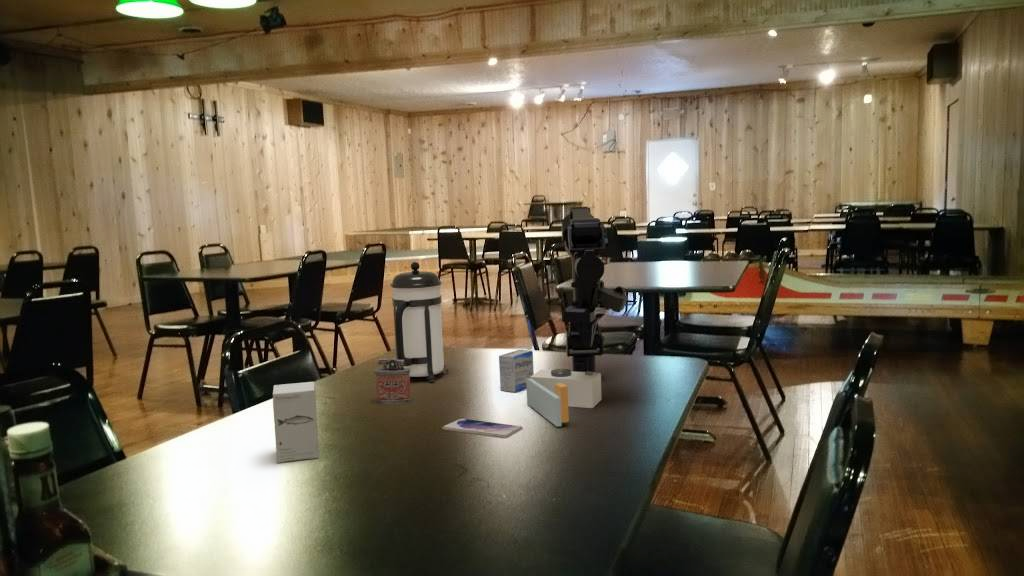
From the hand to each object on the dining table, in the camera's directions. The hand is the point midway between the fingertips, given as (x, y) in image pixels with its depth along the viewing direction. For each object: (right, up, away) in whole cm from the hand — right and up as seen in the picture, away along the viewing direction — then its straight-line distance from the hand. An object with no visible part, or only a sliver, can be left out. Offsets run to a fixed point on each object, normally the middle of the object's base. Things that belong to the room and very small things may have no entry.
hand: (588, 347), depth 160 cm
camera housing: (-5, -12, 0) cm, 13 cm away
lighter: (-44, -13, +5) cm, 46 cm away
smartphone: (-23, -15, -17) cm, 32 cm away
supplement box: (-56, -17, -28) cm, 65 cm away
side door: (-10, -13, -10) cm, 19 cm away
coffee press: (-40, -11, +27) cm, 49 cm away
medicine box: (-16, -11, +13) cm, 23 cm away
